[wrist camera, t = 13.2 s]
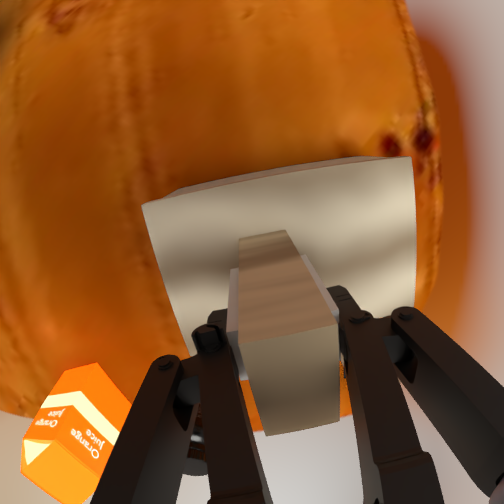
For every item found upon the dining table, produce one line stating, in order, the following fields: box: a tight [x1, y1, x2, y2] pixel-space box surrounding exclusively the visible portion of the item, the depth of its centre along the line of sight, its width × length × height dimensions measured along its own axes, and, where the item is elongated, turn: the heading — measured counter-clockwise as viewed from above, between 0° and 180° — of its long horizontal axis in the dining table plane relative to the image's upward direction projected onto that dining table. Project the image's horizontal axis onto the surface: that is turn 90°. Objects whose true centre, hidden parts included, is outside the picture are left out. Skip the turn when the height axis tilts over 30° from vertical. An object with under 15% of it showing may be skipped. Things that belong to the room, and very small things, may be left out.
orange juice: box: [21, 363, 131, 504], centre depth 26 cm, size 8×9×20 cm
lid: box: [141, 156, 416, 436], centre depth 15 cm, size 12×18×12 cm, turn 101°
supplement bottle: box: [183, 403, 208, 476], centre depth 30 cm, size 7×7×12 cm
